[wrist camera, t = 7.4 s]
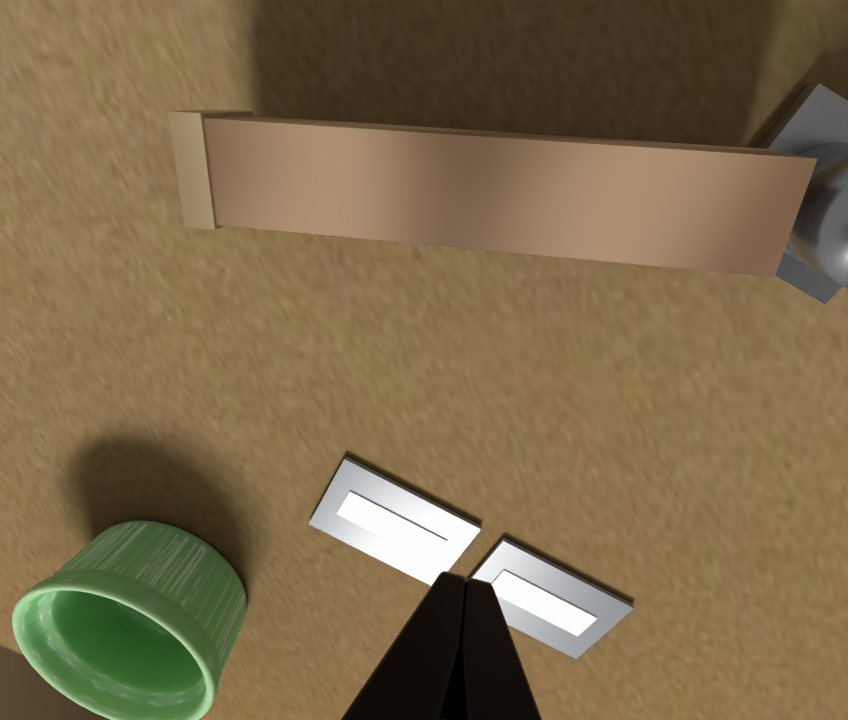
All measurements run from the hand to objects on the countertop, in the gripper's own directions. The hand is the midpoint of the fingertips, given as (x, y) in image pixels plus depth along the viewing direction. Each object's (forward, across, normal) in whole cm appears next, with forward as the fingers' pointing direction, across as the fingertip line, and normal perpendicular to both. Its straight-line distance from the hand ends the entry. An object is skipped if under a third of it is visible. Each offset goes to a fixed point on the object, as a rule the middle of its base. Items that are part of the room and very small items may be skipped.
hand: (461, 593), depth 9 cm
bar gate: (+9, +2, -5) cm, 10 cm away
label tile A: (+10, -4, +11) cm, 15 cm away
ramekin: (+10, +12, +16) cm, 23 cm away
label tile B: (+10, +2, +9) cm, 13 cm away
